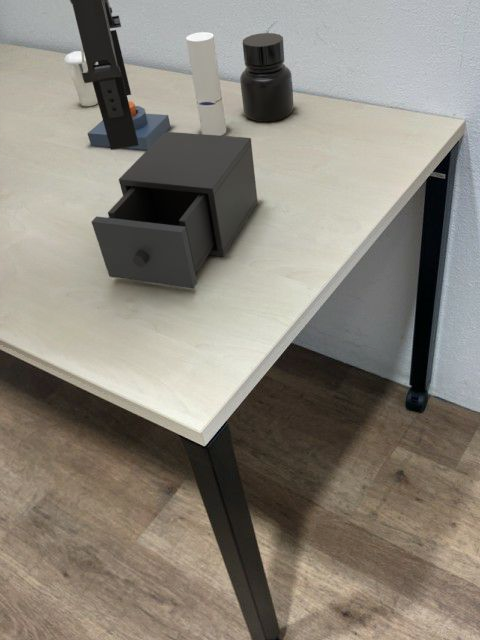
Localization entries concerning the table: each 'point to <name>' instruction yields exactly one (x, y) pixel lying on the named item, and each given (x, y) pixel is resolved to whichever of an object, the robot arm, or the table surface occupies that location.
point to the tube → (206, 83)
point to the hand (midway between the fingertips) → (121, 119)
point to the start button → (132, 108)
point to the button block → (145, 127)
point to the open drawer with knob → (156, 236)
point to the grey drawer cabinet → (202, 177)
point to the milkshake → (80, 78)
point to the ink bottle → (265, 78)
